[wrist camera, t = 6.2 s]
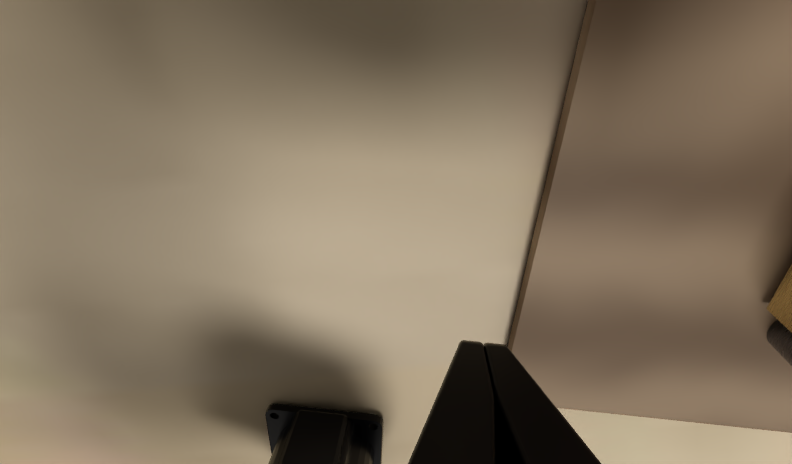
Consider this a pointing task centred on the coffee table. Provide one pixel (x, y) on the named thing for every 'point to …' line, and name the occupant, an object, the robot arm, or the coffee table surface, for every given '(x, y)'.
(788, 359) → the steel leaf
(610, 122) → the hinge board
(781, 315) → the block
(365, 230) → the coffee table surface
